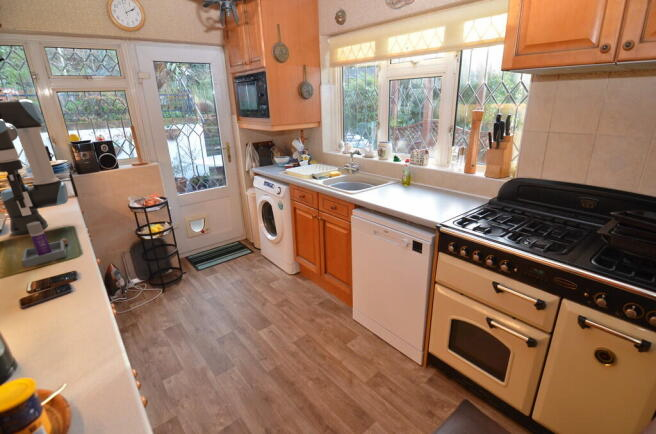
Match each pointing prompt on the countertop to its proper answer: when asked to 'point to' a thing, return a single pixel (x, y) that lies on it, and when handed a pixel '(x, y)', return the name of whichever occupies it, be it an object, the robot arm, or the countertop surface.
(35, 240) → the container
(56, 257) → the tray
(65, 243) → the ball
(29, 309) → the countertop surface
